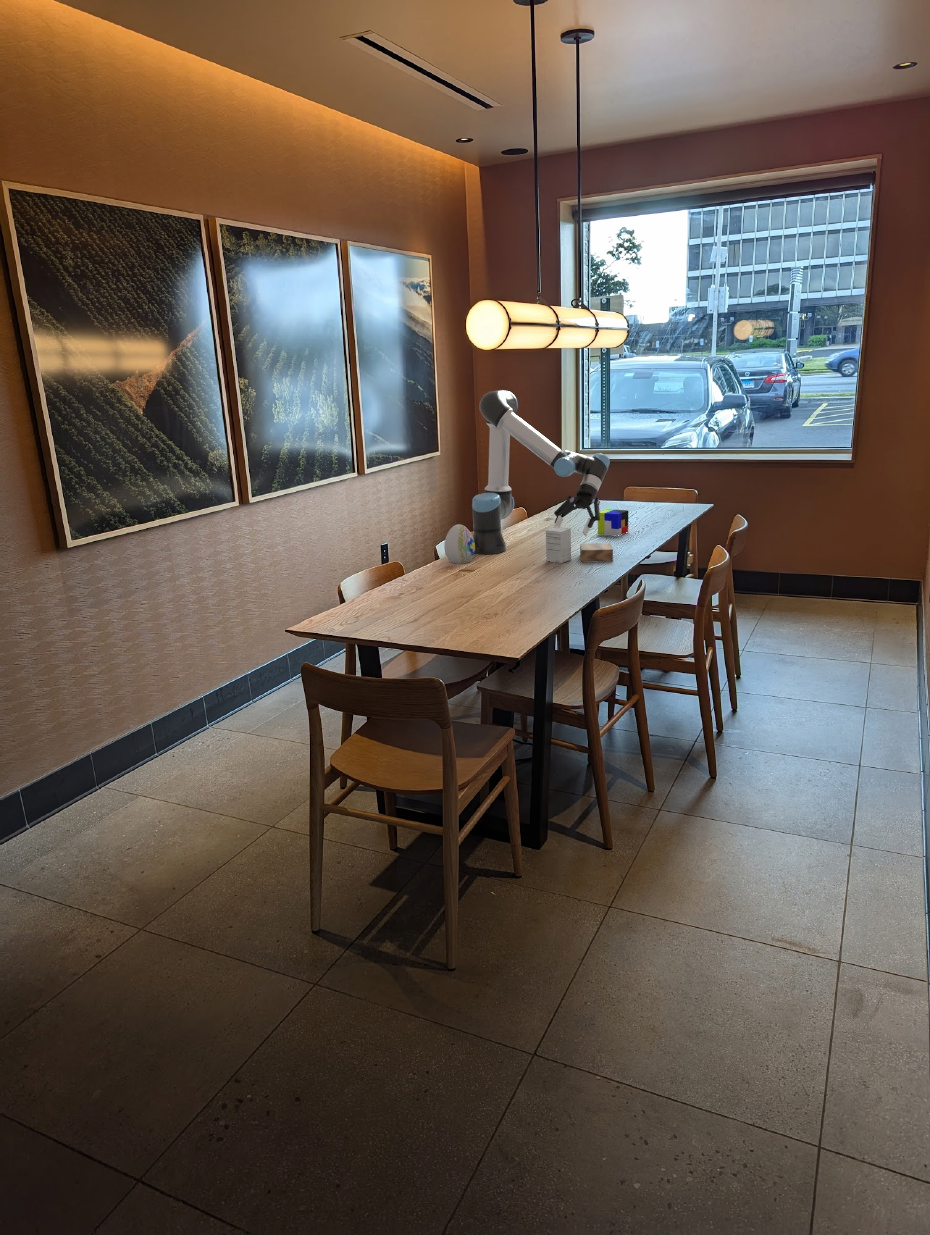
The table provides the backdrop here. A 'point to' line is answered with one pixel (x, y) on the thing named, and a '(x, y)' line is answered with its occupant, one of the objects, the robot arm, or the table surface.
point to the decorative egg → (459, 545)
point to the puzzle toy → (613, 522)
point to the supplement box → (558, 544)
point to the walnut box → (596, 552)
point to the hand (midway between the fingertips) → (569, 532)
